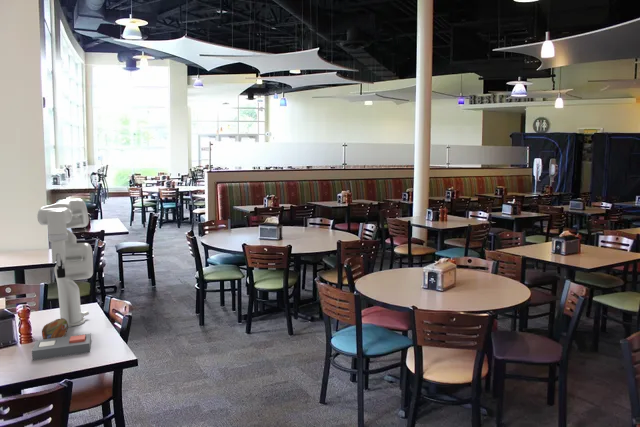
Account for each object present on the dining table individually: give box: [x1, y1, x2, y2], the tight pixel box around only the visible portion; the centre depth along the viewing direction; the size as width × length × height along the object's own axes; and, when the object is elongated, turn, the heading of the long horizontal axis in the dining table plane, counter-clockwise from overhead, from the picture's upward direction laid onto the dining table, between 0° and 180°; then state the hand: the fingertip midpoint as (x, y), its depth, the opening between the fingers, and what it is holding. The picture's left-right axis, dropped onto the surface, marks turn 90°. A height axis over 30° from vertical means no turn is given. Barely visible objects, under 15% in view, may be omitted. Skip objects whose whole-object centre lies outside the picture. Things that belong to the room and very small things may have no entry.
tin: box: [41, 318, 69, 340], centre depth 252 cm, size 15×3×8 cm, turn 168°
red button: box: [69, 334, 86, 343], centre depth 238 cm, size 6×6×4 cm
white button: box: [39, 340, 56, 347], centre depth 234 cm, size 6×6×4 cm
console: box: [31, 333, 93, 361], centre depth 236 cm, size 22×14×4 cm, turn 110°
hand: (61, 277), depth 247 cm, fingers closed
